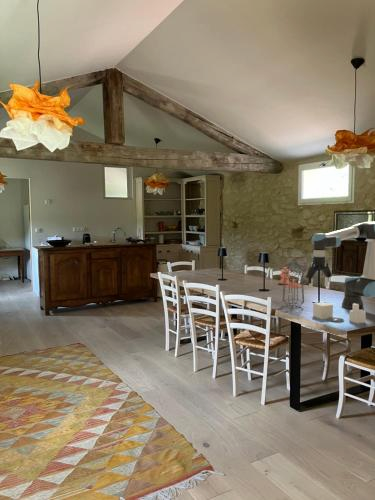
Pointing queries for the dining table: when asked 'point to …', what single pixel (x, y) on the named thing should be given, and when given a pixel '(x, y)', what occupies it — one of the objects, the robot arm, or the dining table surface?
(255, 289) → the dining table surface
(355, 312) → the medicine bottle
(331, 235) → the robot arm
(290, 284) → the ceramic vessels
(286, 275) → the geometric lantern
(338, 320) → the coaster
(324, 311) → the cream cube
